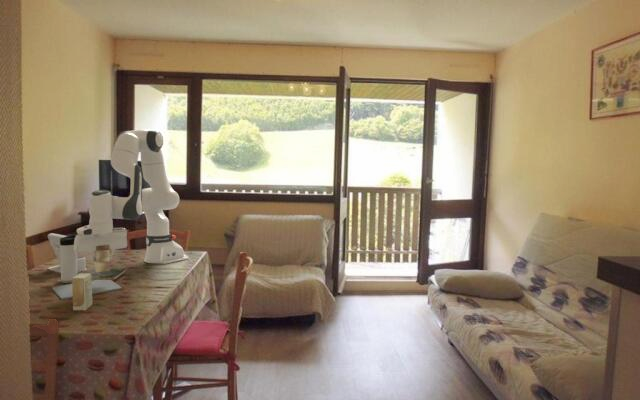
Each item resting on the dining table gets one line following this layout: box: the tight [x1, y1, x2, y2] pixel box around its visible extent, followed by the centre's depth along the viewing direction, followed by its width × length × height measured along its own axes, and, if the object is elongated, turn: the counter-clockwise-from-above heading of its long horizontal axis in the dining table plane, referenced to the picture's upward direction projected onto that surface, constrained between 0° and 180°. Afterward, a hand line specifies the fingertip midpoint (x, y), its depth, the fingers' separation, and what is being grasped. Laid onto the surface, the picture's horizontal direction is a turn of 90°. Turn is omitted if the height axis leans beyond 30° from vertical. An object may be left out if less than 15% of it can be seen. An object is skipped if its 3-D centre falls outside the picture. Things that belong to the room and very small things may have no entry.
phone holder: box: [47, 232, 87, 274], centre depth 201 cm, size 17×10×18 cm, turn 61°
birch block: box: [92, 245, 111, 273], centre depth 177 cm, size 5×5×11 cm
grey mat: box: [51, 279, 123, 301], centre depth 175 cm, size 22×18×1 cm
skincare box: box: [71, 272, 93, 311], centre depth 153 cm, size 6×4×12 cm
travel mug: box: [60, 235, 78, 284], centre depth 183 cm, size 6×7×20 cm
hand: (101, 260), depth 178 cm, fingers closed on birch block, 5 cm apart
